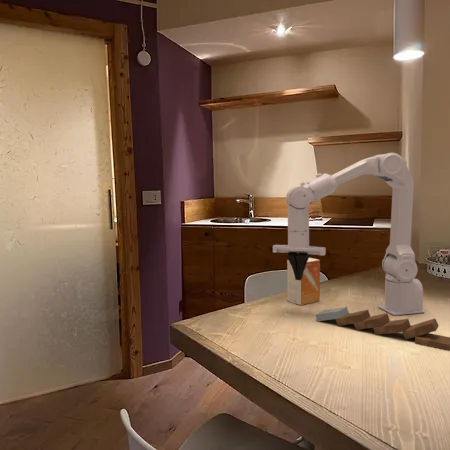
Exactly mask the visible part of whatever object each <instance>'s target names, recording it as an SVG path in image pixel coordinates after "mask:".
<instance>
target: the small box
mask: <svg viewBox="0 0 450 450" xmlns="http://www.w3.org/2000/svg"><path fill="white" fill-rule="evenodd" d="M286 264H287V265H286V266H287V267H286V269H287V272H286V273H287V274H286V275H287V285H286V286H287V291H286V292H287V296H286V297H287V302H290V303H293V304H295V305H299V306H303V305H307V304H311V303H317V302H320V300H321V291H320V290H321V289H320V288H321V282H320V281H321V259H317V258H312V257H309V259H308V261H307V263H306V266H305V269H304V272H303V277H302V279H301V280H295V275H294V272H293V269H292V266H291V264H290V262H289V260H288V259H287V260H286Z"/></svg>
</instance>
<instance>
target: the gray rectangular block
mask: <svg viewBox="0 0 450 450" xmlns="http://www.w3.org/2000/svg"><path fill="white" fill-rule="evenodd" d="M349 313H350V312H349V310H348V306H344V307H343V306H342V307H337V308H329V309H323V310H322V311H319V312H318V313H316V314H315V315H314V316H315V319H316V322H322V321H331V320H336V319H339V318H342V317H344V316H345V315H347V314H349Z"/></svg>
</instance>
